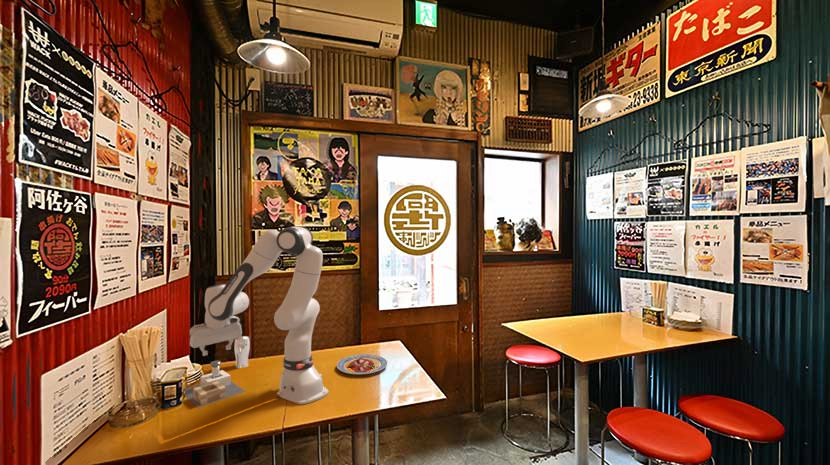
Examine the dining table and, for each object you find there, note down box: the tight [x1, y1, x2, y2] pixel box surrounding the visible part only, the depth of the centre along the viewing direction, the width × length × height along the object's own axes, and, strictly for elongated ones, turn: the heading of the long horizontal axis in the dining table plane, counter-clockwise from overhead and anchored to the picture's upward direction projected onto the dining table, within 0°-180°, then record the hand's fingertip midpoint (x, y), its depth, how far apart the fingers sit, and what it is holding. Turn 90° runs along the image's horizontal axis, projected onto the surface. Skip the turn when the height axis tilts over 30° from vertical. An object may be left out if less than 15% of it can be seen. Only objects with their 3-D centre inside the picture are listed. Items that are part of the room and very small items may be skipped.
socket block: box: [200, 369, 232, 386], centre depth 150 cm, size 9×9×4 cm
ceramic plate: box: [336, 353, 388, 375], centre depth 174 cm, size 26×26×3 cm
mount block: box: [193, 381, 226, 405], centre depth 138 cm, size 9×9×4 cm
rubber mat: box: [183, 380, 246, 409], centre depth 144 cm, size 22×18×1 cm
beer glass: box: [234, 335, 251, 369], centre depth 171 cm, size 7×7×15 cm
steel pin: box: [210, 360, 222, 379], centre depth 150 cm, size 4×4×10 cm
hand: (217, 352), depth 150 cm, fingers open, 8 cm apart
